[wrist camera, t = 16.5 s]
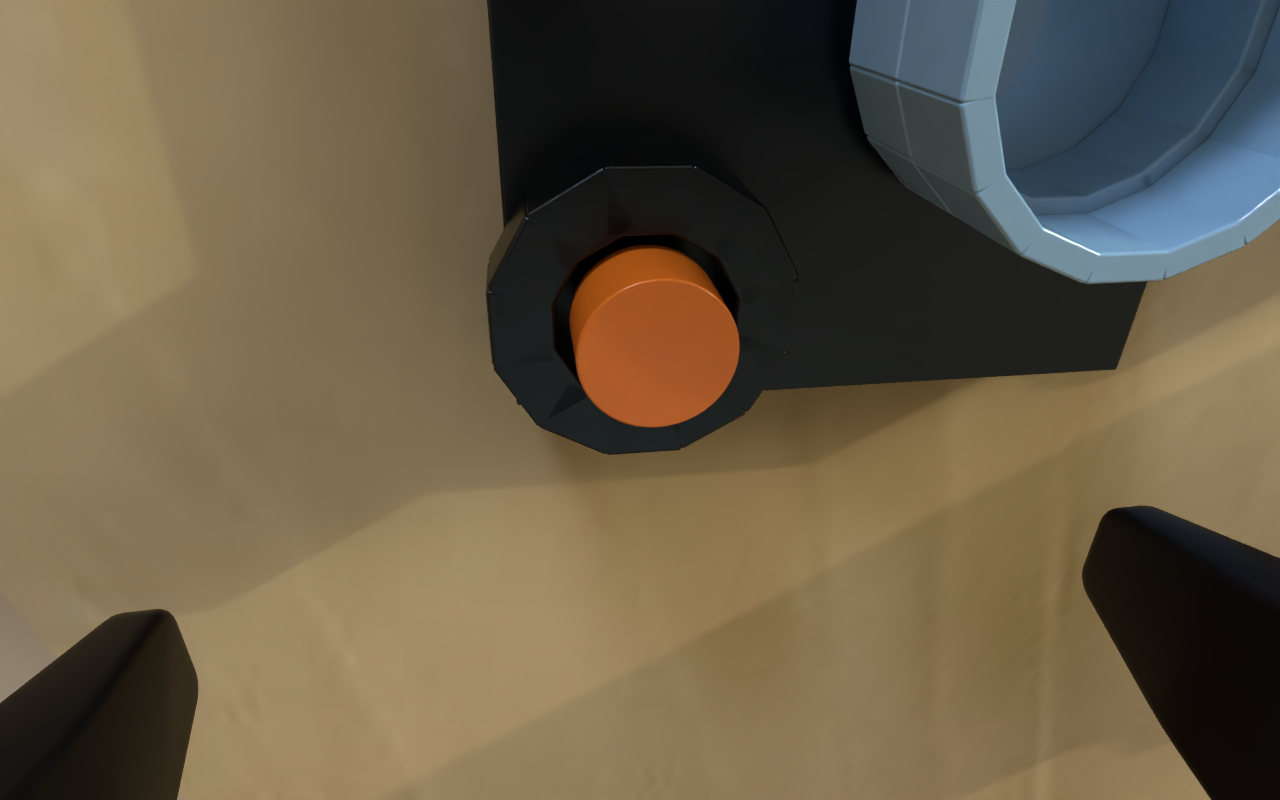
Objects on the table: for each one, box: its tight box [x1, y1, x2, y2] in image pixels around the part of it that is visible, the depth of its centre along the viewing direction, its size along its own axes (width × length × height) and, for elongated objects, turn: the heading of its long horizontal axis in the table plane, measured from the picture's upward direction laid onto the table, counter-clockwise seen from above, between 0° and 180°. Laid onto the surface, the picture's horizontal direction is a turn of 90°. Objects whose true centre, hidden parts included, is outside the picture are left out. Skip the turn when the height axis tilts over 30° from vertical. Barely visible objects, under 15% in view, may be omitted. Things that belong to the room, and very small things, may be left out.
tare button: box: [569, 245, 740, 427], centre depth 14 cm, size 3×3×2 cm
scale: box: [486, 0, 1147, 455], centre depth 15 cm, size 14×12×4 cm
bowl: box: [849, 0, 1280, 284], centre depth 12 cm, size 7×7×4 cm
